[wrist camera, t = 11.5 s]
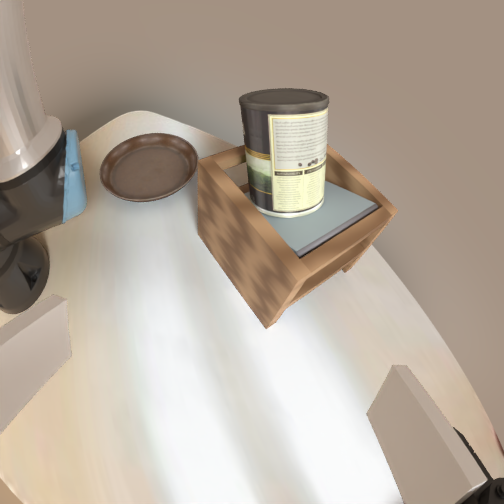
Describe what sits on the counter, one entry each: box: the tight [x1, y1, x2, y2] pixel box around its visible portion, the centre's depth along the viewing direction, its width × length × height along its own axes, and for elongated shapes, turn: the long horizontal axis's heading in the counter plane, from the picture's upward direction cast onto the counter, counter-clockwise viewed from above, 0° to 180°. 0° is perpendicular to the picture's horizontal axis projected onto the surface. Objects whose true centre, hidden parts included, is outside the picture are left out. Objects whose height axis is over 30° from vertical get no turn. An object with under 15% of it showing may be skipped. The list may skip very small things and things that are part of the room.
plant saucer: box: [100, 133, 198, 202], centre depth 53 cm, size 21×21×3 cm
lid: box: [244, 181, 378, 259], centre depth 37 cm, size 15×15×1 cm
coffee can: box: [239, 88, 329, 218], centre depth 33 cm, size 10×10×14 cm
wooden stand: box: [198, 144, 398, 329], centre depth 42 cm, size 20×20×16 cm
